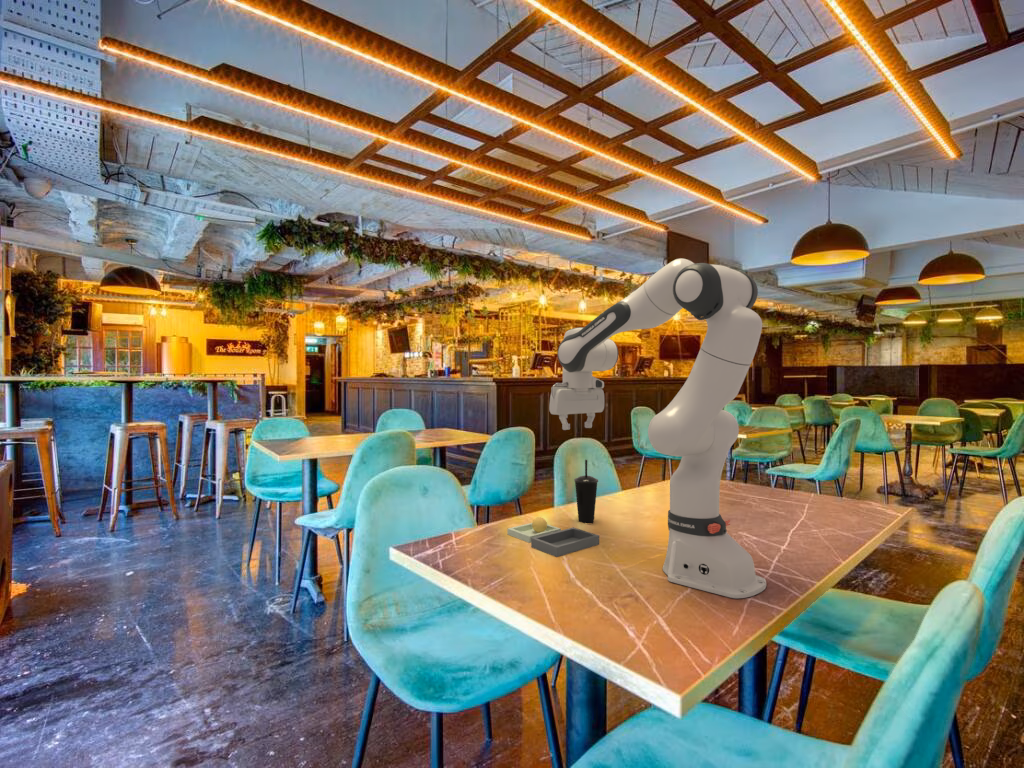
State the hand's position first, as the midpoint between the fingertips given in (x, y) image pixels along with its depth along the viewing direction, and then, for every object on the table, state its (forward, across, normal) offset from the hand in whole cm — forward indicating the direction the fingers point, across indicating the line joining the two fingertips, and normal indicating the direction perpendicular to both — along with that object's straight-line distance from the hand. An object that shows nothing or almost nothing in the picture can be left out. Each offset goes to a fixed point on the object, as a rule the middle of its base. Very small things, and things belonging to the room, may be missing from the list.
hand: (577, 428), depth 154 cm
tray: (+31, -13, +5) cm, 34 cm away
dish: (+31, -13, -8) cm, 35 cm away
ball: (+29, -13, +5) cm, 32 cm away
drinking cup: (+31, +10, +6) cm, 33 cm away
